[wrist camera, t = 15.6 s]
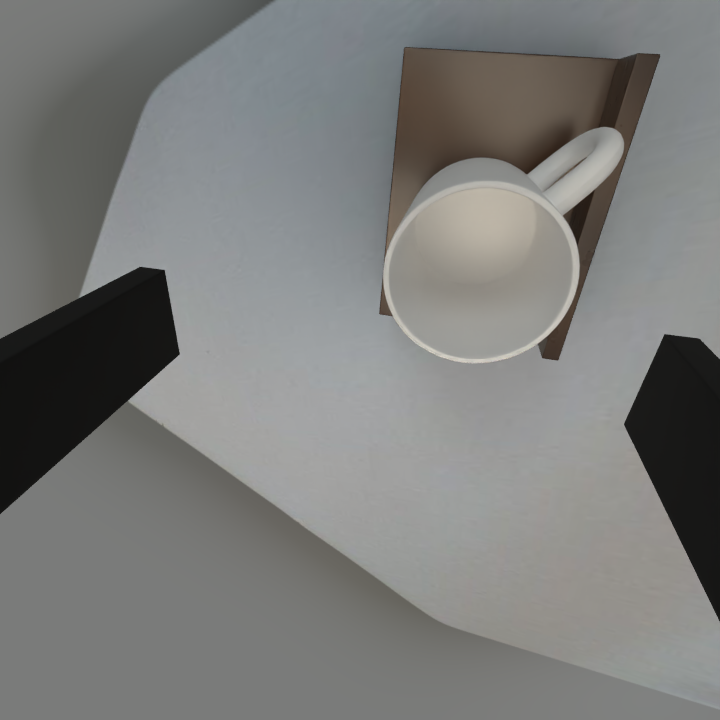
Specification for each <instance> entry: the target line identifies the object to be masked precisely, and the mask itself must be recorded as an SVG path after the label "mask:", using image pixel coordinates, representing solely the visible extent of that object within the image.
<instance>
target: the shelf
mask: <svg viewBox="0 0 720 720" xmlns="http://www.w3.org/2000/svg"><path fill="white" fill-rule="evenodd" d="M659 58H660V54H644V53H637V54H634V55H631V56H628V57H624V58H621V59H610V58H592V57H575V56H557V55H539V54H521V53H503V52H485V51H467V50H450V49H432V48H414V47H405V48H404V56H403V66H402V77H401V88H400V98H399V109H398V120H397V130H396V141H395V152H394V162H393V173H392V184H391V194H390V205H389V216H388V227H387V237H386V248H385V257H386V253H387V250H388V247H389V244H390V242H391V240H392V237H393V235H394V233H395V232H396V230H397V228H398V226H399V225H400V223H401V221H402V220H403V218H404V216H405V214H406V213H407V211H408V209H409V207H410V206H411V204H412V202H413V201H414V199H415V197H416V196H417V194H418V192H419V191H420V190H421V188H422V187H423V186H424V185H425V184H426V182H427V181H428V180H429V179H430V178H432V177H433V176H434V175H435V174H436V173H438V172H439V171H440V170H442V169H444V168H445V167H447V166H449V165H451V164H453V163H456V162H459V161H462V160H466V159H471V158H493V159H498V160H502V161H505V162H507V163H510V164H512V165H513V166H515V167H517V168H518V169H520V170H521V171H523V172H524V173H525V174H528V173H530V172H531V171H532V170H533V169H535V168H536V167H537V166H538V165H539V164H541V163H542V162H543V161H544V160H546V159H547V158H548V157H549V156H551V155H552V154H553V153H555V152H556V151H557V150H559V149H560V148H561V147H563V146H564V145H565V144H567V143H568V142H570V141H571V140H573V139H574V138H576V137H578V136H579V135H581V134H583V133H585V132H587V131H589V130H592V129H596V128H600V127H609V128H614V129H616V130H617V131H618V132H619V133H620V134H621V135H622V138H623V140H624V151H623V154H622V157H621V159H620V161H619V163H618V164H617V166H616V168H615V169H614V170H613V172H612V173H611V174H610V175H609V176H608V177H607V178H606V179H605V180H604V181H603V182H602V183H601V184H600V185H599V186H598V187H597V188H596V189H595V190H593V191H592V192H591V193H590V194H589V195H588V196H586V197H585V198H584V199H583V200H582V201H580V202H579V203H578V204H577V205H575V206H574V207H573V208H572V209H570V210H569V211H568V212H567V213H565V214H564V215H563V217H564V218H565V220H566V221H567V223H568V225H569V227H570V228H571V230H572V233H573V235H574V237H575V240H576V244H577V247H578V253H579V262H580V271H579V280H578V286H577V290H576V293H575V296H574V299H573V301H572V304H571V305H570V307H569V309H568V311H567V313H566V314H565V316H564V318H563V319H562V320H561V322H560V323H559V324H558V325H557V327H556V328H555V329H554V330H553V331H552V332H551V333H550V334H549V335H548V336H547V337H546V338H544V339H543V340H542V341H541V342H539V343H538V345H539V349H540V352H541V356H542V358H545V359H551V360H558V359H559V356H560V353H561V351H562V348H563V345H564V342H565V339H566V336H567V333H568V330H569V327H570V324H571V321H572V318H573V315H574V312H575V309H576V306H577V303H578V300H579V297H580V294H581V291H582V288H583V285H584V282H585V279H586V276H587V273H588V270H589V267H590V264H591V261H592V258H593V255H594V252H595V249H596V246H597V243H598V240H599V237H600V234H601V231H602V228H603V225H604V222H605V219H606V216H607V213H608V210H609V207H610V204H611V201H612V198H613V195H614V192H615V189H616V186H617V183H618V180H619V177H620V174H621V171H622V168H623V165H624V162H625V159H626V156H627V153H628V150H629V148H630V145H631V142H632V139H633V136H634V133H635V130H636V127H637V124H638V121H639V118H640V115H641V112H642V109H643V106H644V103H645V100H646V97H647V94H648V91H649V88H650V85H651V82H652V79H653V76H654V73H655V70H656V67H657V64H658V61H659ZM586 158H587V157H586ZM586 158H584V159H583V160H581V161H580V162H578V163H577V164H576V165H574V166H573V167H572V168H571V169H569V170H568V171H567V172H566V173H564V174H563V175H562V176H561V177H560V178H559V179H558V180H556V181H555V182H554V183H553V184H552V185H554V184H555V183H556V182H557V181H559V180H560V179H561V178H563V177H564V176H565V175H566V174H568V173H569V172H570V171H572V170H573V169H574V168H575V167H576V166H578V165H579V164H580V163H581V162H582V161H584V160H585V159H586ZM552 185H551V186H552ZM551 186H550V187H551ZM550 187H549V188H550ZM384 262H385V259H384ZM379 314H382V315H388V316H393V315H392V313H391V311H390V309H389V306H388V303H387V300H386V296H385V292H384V285H383V280H382V291H381V301H380V312H379Z"/></svg>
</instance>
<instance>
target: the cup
mask: <svg viewBox="0 0 720 720" xmlns="http://www.w3.org/2000/svg"><path fill="white" fill-rule="evenodd" d="M623 151H624V140H623V138H622V135H621V134H620V133H619V132H618V131H617V130H616V129H614V128H609V127H600V128H596V129H592V130H589V131H587V132H585V133H583V134H581V135H579V136H578V137H576V138H574V139H573V140H571V141H570V142H568V143H567V144H565V145H564V146H563V147H561V148H560V149H559V150H557V151H556V152H555V153H553V154H552V155H551V156H549V157H548V158H547V159H546V160H544V161H543V162H542V163H541V164H539V165H538V166H537V167H536V168H535V169H533V170H532V171H531V172H530V173H528V174H525V173H524V172H523V171H521V170H520V169H518V168H517V167H515V166H513V165H512V164H510V163H507V162H505V161H502V160H498V159H493V158H471V159H466V160H462V161H459V162H456V163H453V164H451V165H449V166H447V167H445V168H444V169H442V170H440V171H439V172H438V173H436V174H435V175H434V176H433V177H432V178H430V179H429V180H428V181H427V182H426V184H425V185H424V186H423V187H422V188H421V190H420V191H419V192H418V194H417V196H416V197H415V199H414V201H413V202H412V204H411V206H410V207H409V209H408V211H407V213H406V214H405V216H404V218H403V220H402V221H401V223H400V225H399V226H398V228H397V230H396V232H395V233H394V235H393V237H392V240H391V242H390V244H389V247H388V250H387V253H386V257H385V262H384V269H383V285H384V292H385V296H386V300H387V303H388V306H389V309H390V311H391V313H392V315H393V317H394V319H395V320H396V322H397V324H398V325H399V326H400V328H401V329H402V330H403V331H404V332H405V334H406V335H407V336H408V337H409V338H410V339H412V340H413V341H414V342H415V343H416V344H418V345H419V346H420V347H422V348H424V349H425V350H427V351H429V352H431V353H433V354H435V355H437V356H440V357H442V358H445V359H449V360H452V361H457V362H464V363H488V362H495V361H500V360H504V359H507V358H510V357H513V356H516V355H518V354H520V353H522V352H524V351H526V350H528V349H530V348H532V347H533V346H535V345H536V344H538V343H539V342H541V341H542V340H543V339H544V338H546V337H547V336H548V335H549V334H550V333H551V332H552V331H553V330H554V329H555V328H556V327H557V325H558V324H559V323H560V322H561V320H562V319H563V318H564V316H565V314H566V313H567V311H568V309H569V307H570V305H571V304H572V301H573V299H574V296H575V293H576V290H577V286H578V280H579V271H580V262H579V253H578V247H577V244H576V240H575V237H574V235H573V233H572V230H571V228H570V227H569V225H568V223H567V221H566V220H565V218H564V217H563V215H564V214H565V213H567V212H568V211H569V210H570V209H572V208H573V207H574V206H575V205H577V204H578V203H579V202H580V201H582V200H583V199H584V198H585V197H586V196H588V195H589V194H590V193H591V192H592V191H593V190H595V189H596V188H597V187H598V186H599V185H600V184H601V183H602V182H603V181H604V180H605V179H606V178H607V177H608V176H609V175H610V174H611V173H612V172H613V170H614V169H615V168H616V166H617V164H618V163H619V161H620V159H621V157H622V154H623ZM586 157H587V158H586ZM584 158H586V159H585V160H584V161H582V162H581V163H580V164H579V165H578V166H576V167H575V168H574V169H573V170H572V171H570V172H569V173H568V174H566V175H565V176H564V177H563V178H561V179H560V180H559V181H557V182H556V183H555V184H554V185H552V184H553V183H554V182H555V181H556V180H558V179H559V178H560V177H561V176H562V175H563V174H564V173H566V172H567V171H568V170H569V169H571V168H572V167H573V166H574V165H576V164H577V163H578V162H580V161H581V160H583V159H584ZM551 185H552V186H551ZM550 186H551V187H550ZM549 187H550V188H549Z"/></svg>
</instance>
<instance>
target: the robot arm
mask: <svg viewBox="0 0 720 720" xmlns="http://www.w3.org/2000/svg"><path fill="white" fill-rule="evenodd" d="M179 354H180V353H179V348H178V342H177V336H176V331H175V325H174V320H173V314H172V309H171V303H170V297H169V292H168V286H167V281H166V275H165V270H160V269H152V268H144V267H139V268H137V269H135V270H133V271H131V272H129V273H127V274H125V275H123V276H121V277H120V278H118V279H116V280H114V281H112V282H110V283H108V284H106V285H104V286H102V287H100V288H98V289H96V290H94V291H92V292H90V293H88V294H86V295H85V296H83V297H81V298H79V299H77V300H75V301H73V302H71V303H69V304H67V305H65V306H63V307H61V308H59V309H57V310H55V311H53V312H52V313H50V314H48V315H46V316H44V317H42V318H40V319H38V320H36V321H34V322H32V323H30V324H28V325H26V326H24V327H23V328H20V329H18V330H16V331H15V332H13V333H11V334H9V335H7V336H5V337H3V338H1V339H0V514H1V513H2V512H3V511H4V510H5V509H6V508H8V507H9V506H10V505H11V504H12V503H13V502H14V501H15V500H17V499H18V497H20V496H21V495H22V494H23V493H24V492H25V491H27V490H28V489H29V488H30V487H31V486H32V485H33V484H34V483H36V482H37V481H38V480H39V479H40V478H41V477H42V476H43V475H45V474H46V473H47V472H48V471H49V470H50V469H51V468H52V467H54V466H55V465H56V464H57V463H58V462H59V461H60V460H61V459H63V458H64V457H65V456H66V455H67V454H68V453H69V452H70V451H71V450H72V449H74V448H75V447H76V446H77V445H78V444H79V443H81V442H82V440H84V439H85V438H86V437H87V436H88V435H89V434H91V433H92V432H93V431H94V430H95V429H96V428H97V427H99V426H100V425H101V424H102V423H103V422H104V421H105V420H106V419H108V418H109V417H110V416H111V415H112V414H113V413H114V412H115V411H116V410H118V409H119V408H120V407H121V406H122V405H123V404H124V403H125V402H127V401H128V400H129V399H130V398H131V397H132V396H133V395H134V394H136V393H137V392H138V391H139V390H140V389H141V388H142V387H143V386H145V385H146V384H147V383H148V382H149V381H150V380H151V379H152V378H154V377H155V376H156V375H157V374H158V373H159V372H160V371H161V370H163V369H164V368H165V367H166V366H167V365H168V364H169V363H170V362H172V361H173V360H174V359H175V358H176V357H177V356H178V355H179ZM624 425H625V427H626V430H627V432H628V434H629V436H630V438H631V440H632V442H633V444H634V446H635V448H636V450H637V452H638V454H639V456H640V458H641V460H642V462H643V465H644V467H645V469H646V471H647V473H648V475H649V477H650V479H651V481H652V483H653V485H654V487H655V489H656V491H657V493H658V495H659V497H660V500H661V502H662V504H663V506H664V508H665V510H666V512H667V514H668V516H669V518H670V520H671V522H672V524H673V526H674V528H675V530H676V532H677V535H678V537H679V539H680V541H681V543H682V545H683V547H684V549H685V551H686V553H687V555H688V557H689V559H690V561H691V563H692V565H693V567H694V569H695V572H696V574H697V576H698V578H699V580H700V582H701V584H702V586H703V588H704V590H705V592H706V594H707V596H708V598H709V600H710V602H711V604H712V607H713V609H714V611H715V613H716V615H717V617H718V619H719V621H720V359H719V358H718V357H717V356H716V355H715V354H714V353H713V352H712V351H711V350H710V349H709V348H708V347H707V346H706V345H705V344H704V343H703V342H702V341H701V340H700V339H698V338H690V337H682V336H674V335H666V334H665V335H664V337H663V339H662V341H661V343H660V346H659V348H658V350H657V352H656V355H655V357H654V359H653V361H652V363H651V366H650V368H649V370H648V372H647V374H646V377H645V379H644V381H643V383H642V386H641V388H640V390H639V392H638V394H637V397H636V399H635V401H634V403H633V405H632V408H631V410H630V412H629V414H628V416H627V419H626V421H625V423H624Z"/></svg>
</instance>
